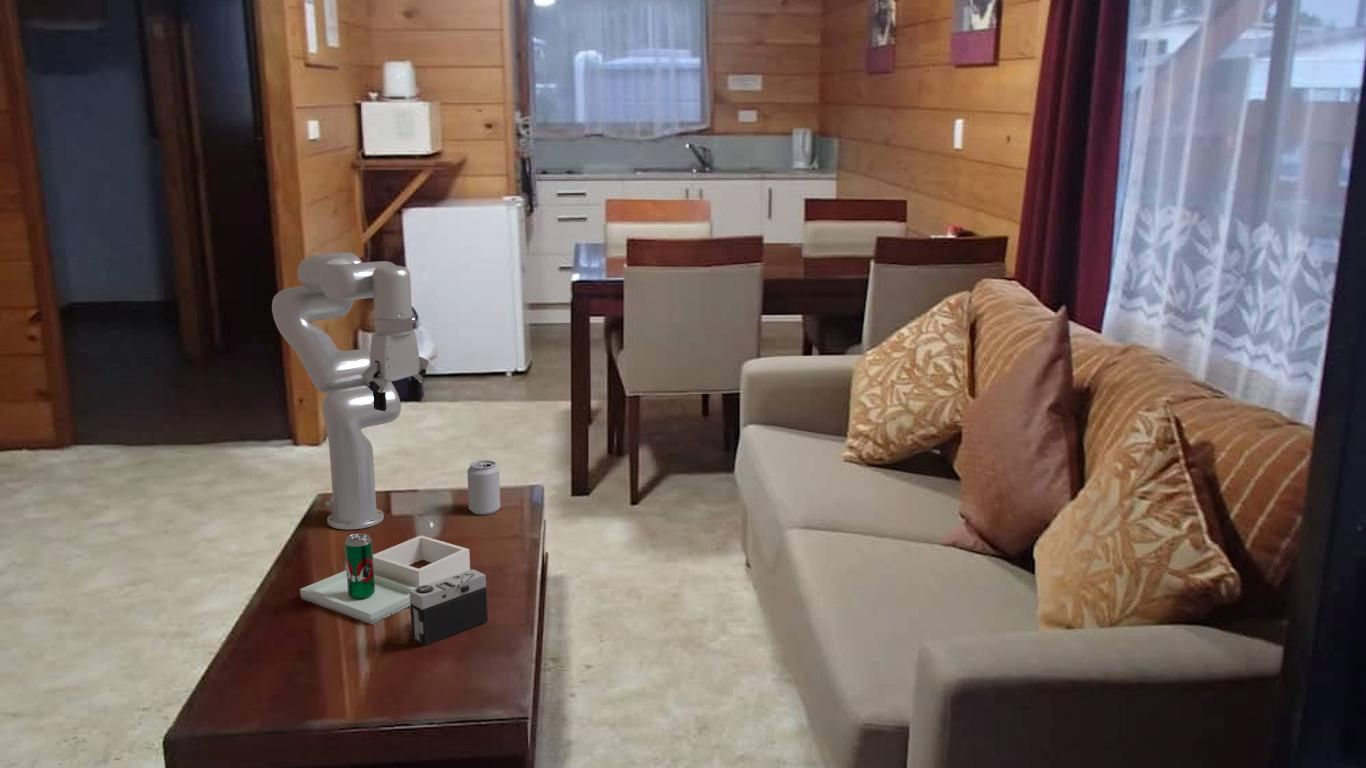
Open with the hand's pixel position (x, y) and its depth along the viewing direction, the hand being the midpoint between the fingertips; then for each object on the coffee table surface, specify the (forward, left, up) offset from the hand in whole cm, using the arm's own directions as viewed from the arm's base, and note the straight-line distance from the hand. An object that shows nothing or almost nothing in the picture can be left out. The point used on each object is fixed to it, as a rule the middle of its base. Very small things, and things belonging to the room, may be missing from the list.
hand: (398, 405), depth 227 cm
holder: (+14, -9, -32) cm, 36 cm away
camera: (+35, -23, -33) cm, 53 cm away
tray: (+13, -23, -32) cm, 42 cm away
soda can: (+13, -23, -32) cm, 41 cm away
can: (-2, +27, -32) cm, 42 cm away
